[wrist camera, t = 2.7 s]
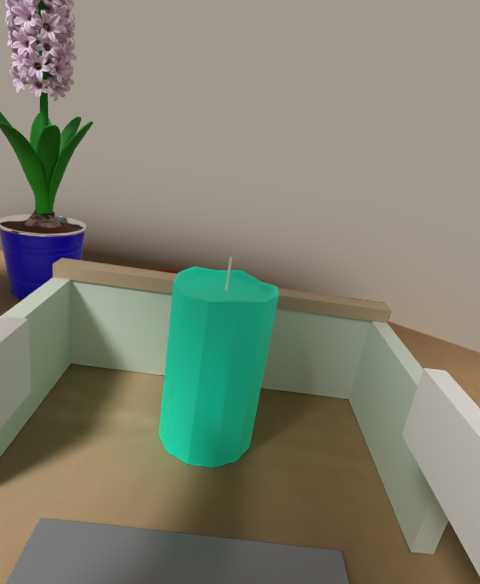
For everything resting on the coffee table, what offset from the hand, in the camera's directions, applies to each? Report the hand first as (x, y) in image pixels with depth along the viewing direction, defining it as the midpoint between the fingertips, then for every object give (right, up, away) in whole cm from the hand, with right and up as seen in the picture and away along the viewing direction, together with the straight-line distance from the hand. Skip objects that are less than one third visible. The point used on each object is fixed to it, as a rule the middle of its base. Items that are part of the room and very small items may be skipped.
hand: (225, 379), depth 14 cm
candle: (-2, -6, +13) cm, 15 cm away
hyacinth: (-21, +3, +31) cm, 37 cm away
